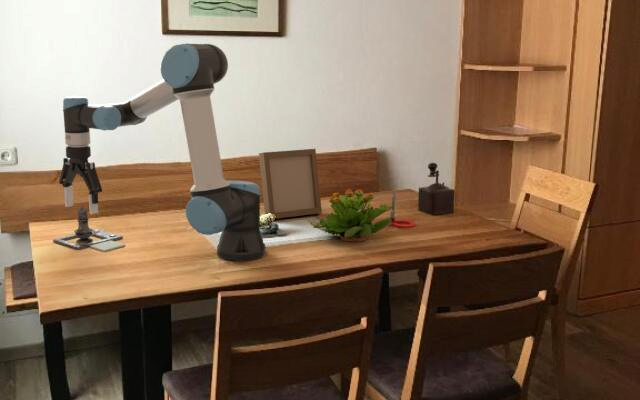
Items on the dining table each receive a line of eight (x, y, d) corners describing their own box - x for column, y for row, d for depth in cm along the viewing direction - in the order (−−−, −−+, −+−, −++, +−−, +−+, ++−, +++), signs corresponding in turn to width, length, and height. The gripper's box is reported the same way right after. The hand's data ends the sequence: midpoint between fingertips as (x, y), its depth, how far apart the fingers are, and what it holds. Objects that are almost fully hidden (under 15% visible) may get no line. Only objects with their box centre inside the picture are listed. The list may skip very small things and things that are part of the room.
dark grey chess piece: (87, 244, 228) (85, 208, 225) (71, 242, 229) (68, 207, 226) (97, 239, 233) (94, 204, 231) (80, 238, 234) (78, 203, 232)
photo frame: (321, 215, 268) (322, 150, 263) (270, 221, 258) (270, 154, 252) (303, 207, 281) (304, 145, 275) (253, 213, 270) (253, 149, 265)
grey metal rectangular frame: (122, 238, 235) (122, 235, 234) (78, 249, 221) (77, 246, 221) (97, 231, 243) (97, 228, 243) (53, 241, 230) (53, 238, 230)
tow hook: (416, 224, 258) (392, 221, 261) (419, 190, 255) (395, 187, 258) (411, 230, 250) (386, 226, 253) (415, 195, 247) (389, 192, 250)
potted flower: (346, 224, 255) (347, 177, 251) (404, 235, 242) (406, 186, 238) (306, 240, 235) (306, 189, 231) (366, 253, 222) (367, 199, 218)
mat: (125, 246, 226) (125, 244, 226) (104, 251, 220) (104, 250, 220) (110, 241, 230) (110, 240, 230) (89, 247, 224) (89, 245, 224)
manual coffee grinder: (455, 213, 274) (458, 167, 270) (433, 216, 269) (435, 169, 265) (431, 204, 288) (434, 161, 284) (409, 207, 283) (411, 163, 279)
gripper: (45, 142, 228) (49, 205, 233) (90, 151, 214) (94, 218, 218) (66, 139, 234) (69, 201, 239) (111, 148, 219) (114, 214, 224)
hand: (81, 209), depth 229 cm, fingers open, 13 cm apart
